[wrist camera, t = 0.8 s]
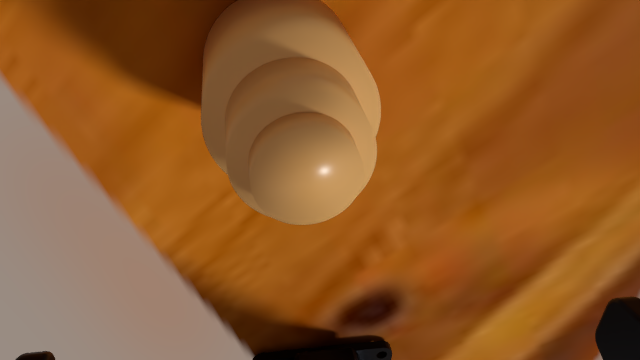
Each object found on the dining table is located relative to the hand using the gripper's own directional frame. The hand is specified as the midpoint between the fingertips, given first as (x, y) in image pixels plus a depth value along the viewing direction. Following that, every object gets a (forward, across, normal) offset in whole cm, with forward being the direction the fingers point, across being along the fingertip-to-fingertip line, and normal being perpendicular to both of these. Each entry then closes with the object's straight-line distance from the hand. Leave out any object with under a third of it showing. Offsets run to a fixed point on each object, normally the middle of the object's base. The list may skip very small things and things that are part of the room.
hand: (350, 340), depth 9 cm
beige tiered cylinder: (+11, 0, 0) cm, 11 cm away
